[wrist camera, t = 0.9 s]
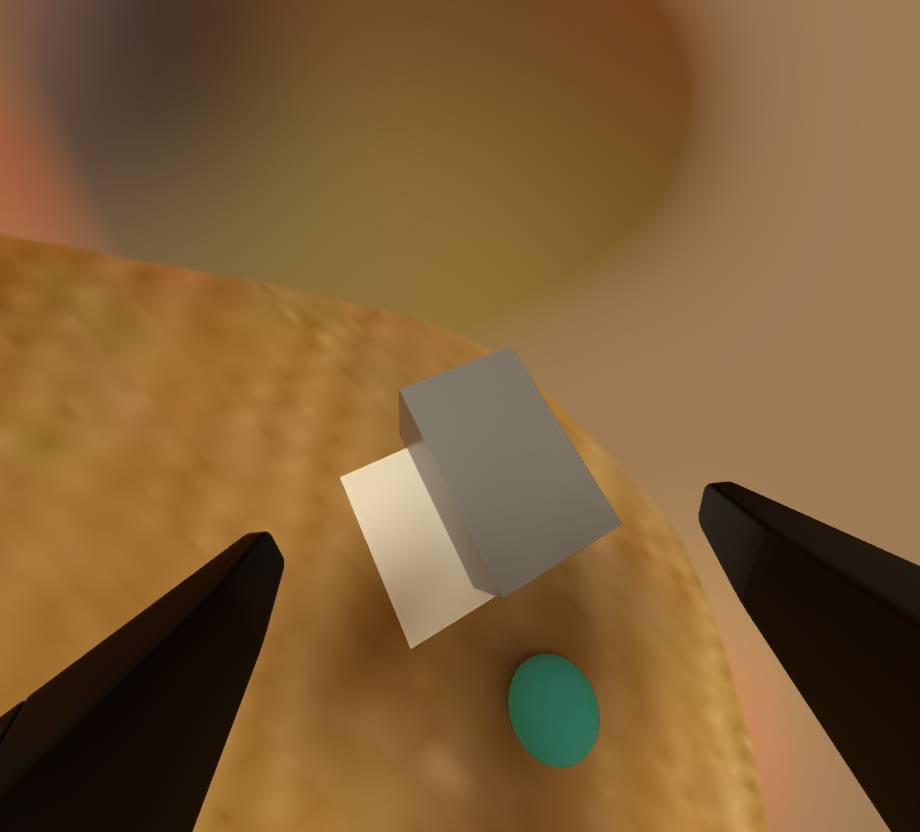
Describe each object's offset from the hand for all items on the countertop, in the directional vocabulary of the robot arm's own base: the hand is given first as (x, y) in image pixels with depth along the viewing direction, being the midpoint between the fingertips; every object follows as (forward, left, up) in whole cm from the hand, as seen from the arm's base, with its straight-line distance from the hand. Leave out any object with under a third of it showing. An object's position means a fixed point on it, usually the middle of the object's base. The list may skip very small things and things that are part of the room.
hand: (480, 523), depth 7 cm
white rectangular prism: (+2, -2, -19) cm, 19 cm away
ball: (-8, -8, -17) cm, 20 cm away
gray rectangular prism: (+5, -4, -19) cm, 20 cm away
